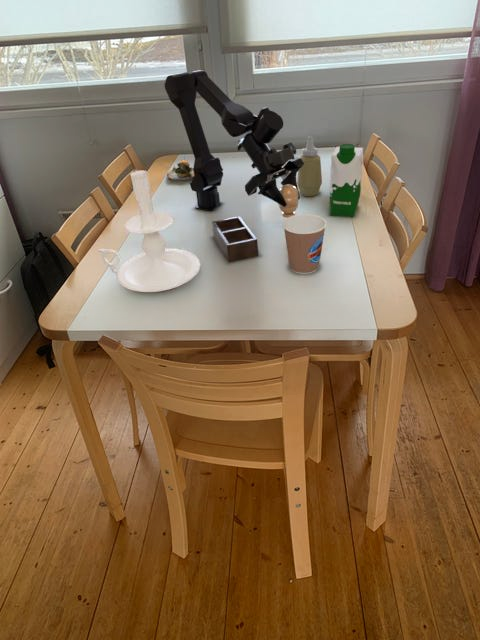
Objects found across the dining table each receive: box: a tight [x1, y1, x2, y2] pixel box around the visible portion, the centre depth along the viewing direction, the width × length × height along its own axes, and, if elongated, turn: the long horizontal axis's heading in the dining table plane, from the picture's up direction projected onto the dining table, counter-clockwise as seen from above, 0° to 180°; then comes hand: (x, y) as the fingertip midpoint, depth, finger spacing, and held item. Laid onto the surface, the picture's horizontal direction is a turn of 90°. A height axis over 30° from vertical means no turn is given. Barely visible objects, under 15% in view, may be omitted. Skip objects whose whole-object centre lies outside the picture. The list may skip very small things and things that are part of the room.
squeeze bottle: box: [296, 136, 323, 197], centre depth 150 cm, size 8×8×18 cm
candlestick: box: [97, 169, 201, 293], centre depth 110 cm, size 21×25×28 cm
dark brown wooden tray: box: [211, 215, 259, 263], centre depth 128 cm, size 8×16×5 cm, turn 17°
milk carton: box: [329, 143, 364, 218], centre depth 137 cm, size 9×9×20 cm
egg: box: [278, 184, 299, 219], centre depth 127 cm, size 5×5×9 cm
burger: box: [166, 156, 195, 181], centre depth 174 cm, size 12×12×8 cm
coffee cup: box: [282, 213, 328, 275], centre depth 114 cm, size 10×10×12 cm
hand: (292, 202), depth 126 cm, fingers closed on egg, 5 cm apart
